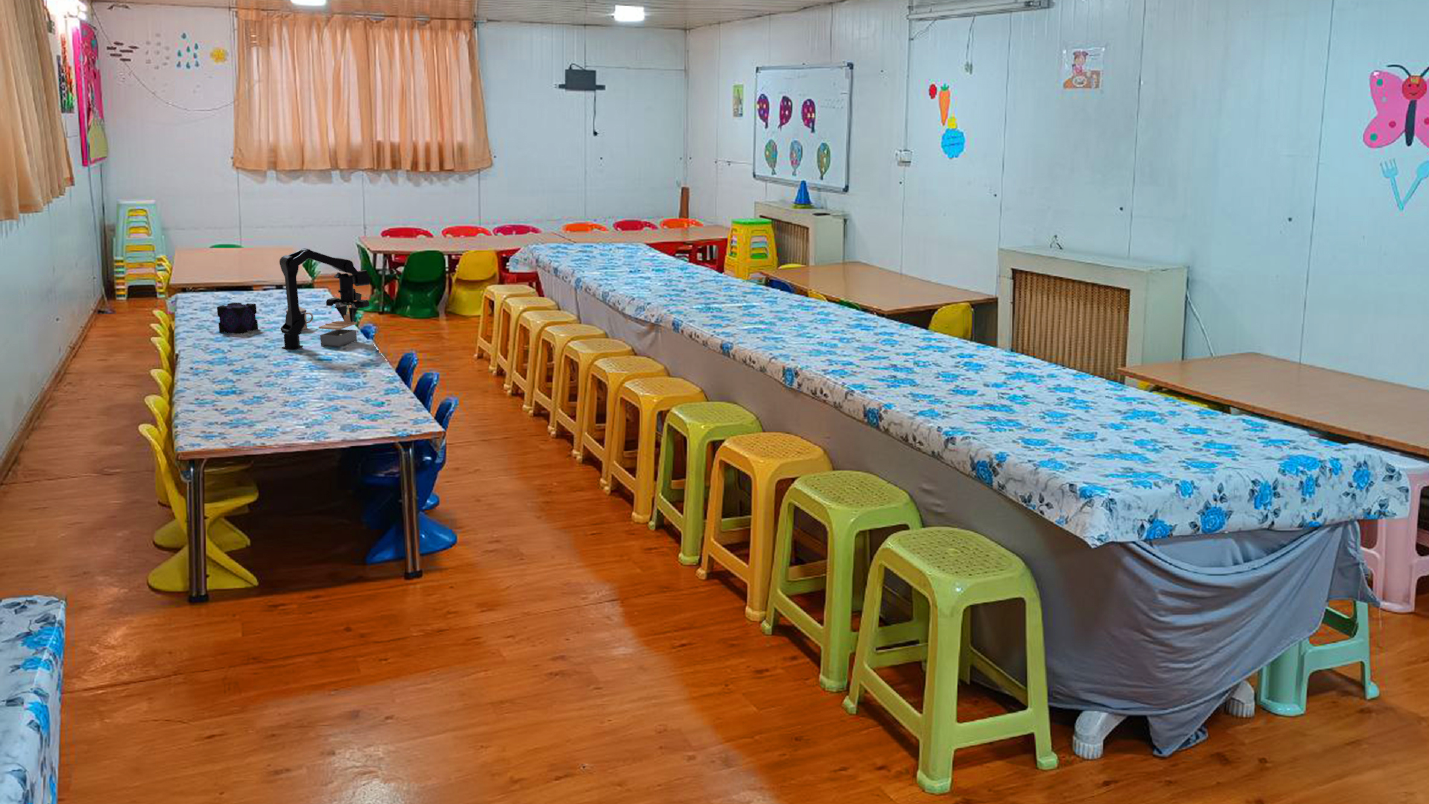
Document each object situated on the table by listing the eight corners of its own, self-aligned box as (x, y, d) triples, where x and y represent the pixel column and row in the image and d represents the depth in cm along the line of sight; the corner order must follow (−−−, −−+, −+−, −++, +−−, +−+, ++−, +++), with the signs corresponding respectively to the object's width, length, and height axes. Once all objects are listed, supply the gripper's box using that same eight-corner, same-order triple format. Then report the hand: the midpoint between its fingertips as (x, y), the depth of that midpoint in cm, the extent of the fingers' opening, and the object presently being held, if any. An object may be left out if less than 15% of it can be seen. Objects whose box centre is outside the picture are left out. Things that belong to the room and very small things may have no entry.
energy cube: (219, 332, 529) (216, 306, 526) (235, 327, 541) (233, 302, 538) (242, 334, 527) (239, 308, 524) (258, 329, 538) (255, 303, 535)
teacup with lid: (289, 331, 533) (287, 306, 530) (285, 328, 540) (283, 303, 537) (316, 329, 539) (314, 304, 536) (311, 325, 547) (309, 301, 544)
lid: (338, 329, 498) (338, 321, 497) (318, 328, 501) (318, 320, 500) (360, 322, 515) (360, 314, 514) (341, 321, 517) (340, 313, 516)
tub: (339, 347, 501) (338, 336, 499) (321, 346, 503) (320, 334, 502) (356, 341, 514) (356, 330, 512) (339, 339, 516) (338, 328, 515)
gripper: (374, 285, 515) (377, 319, 519) (338, 283, 520) (340, 317, 524) (361, 289, 505) (363, 324, 509) (324, 287, 510) (326, 321, 514)
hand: (349, 321), depth 514 cm, fingers closed on lid, 3 cm apart
